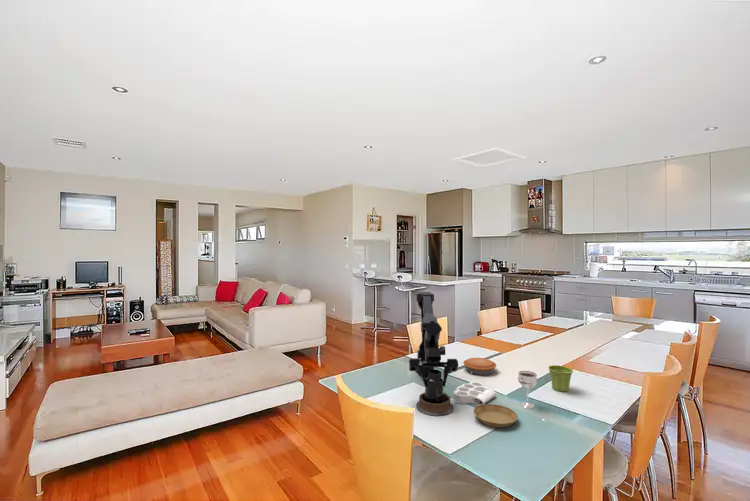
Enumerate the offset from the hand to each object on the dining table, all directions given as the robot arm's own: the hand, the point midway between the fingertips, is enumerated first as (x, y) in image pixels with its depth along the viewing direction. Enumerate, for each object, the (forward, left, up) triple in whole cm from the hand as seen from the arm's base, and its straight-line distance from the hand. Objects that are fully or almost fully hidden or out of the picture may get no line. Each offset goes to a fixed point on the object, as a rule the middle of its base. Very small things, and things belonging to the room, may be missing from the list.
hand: (435, 386), depth 135 cm
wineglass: (-34, +10, -9) cm, 37 cm away
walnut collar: (0, -1, -8) cm, 8 cm away
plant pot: (-58, +3, -9) cm, 59 cm away
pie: (-40, -28, -9) cm, 50 cm away
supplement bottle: (0, -1, -7) cm, 7 cm away
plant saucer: (-15, +15, -9) cm, 23 cm away
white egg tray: (-20, -4, -9) cm, 22 cm away
